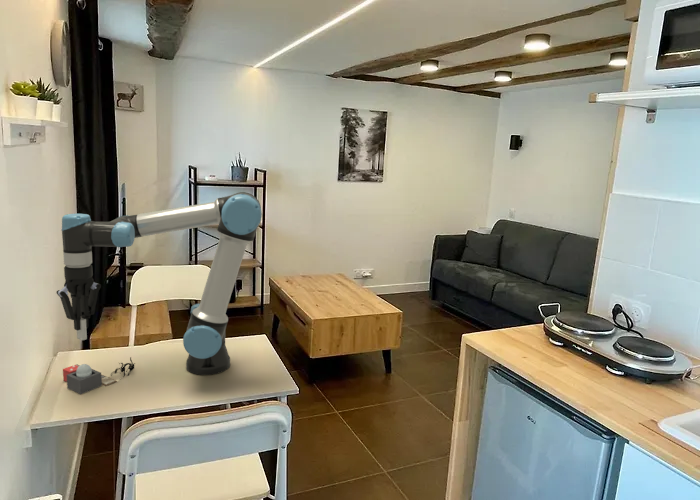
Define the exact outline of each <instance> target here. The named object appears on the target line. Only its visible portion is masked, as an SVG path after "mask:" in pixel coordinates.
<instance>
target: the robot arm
mask: <svg viewBox="0 0 700 500" xmlns="http://www.w3.org/2000/svg"><path fill="white" fill-rule="evenodd" d="M262 215H263V214H262V206H261V203H260V201H259V199H258V198H257V197H256V196H255V195H254V194H251V193H249V192H244V191H242V192H241V191H240V192H236V193H233V194H231V195H227V196H222V197H216V199H215V200H214V201H210V202H204V203H199V204H193V205H192V204H191V205H186V206H181V207H174V208H169V209H163V210H156V211H149V212H145V213H144V212H143V213H137V214H131V215H127V214H124V215H120V216H119V217H116V218H115V219H113V220H111V221H110V220H109V221H94V220H92V219H91V215H89V214H87V213H69V214H65V215H63V216H62V217H61V236H62V237H61V238H62V239H61V240H62V249H63V250H62V251H63V265H64V267H63V271H64V273H63V275H64V280H65V282H64V285H63V287H62V288H61V289H59V290H56V293H55V294H57V296H58V297H59V298H60V301H61V304H62V307H63V310H64V313H65V317H66V318H67V320H71V321H73V328H74V331H75V330H76V339H77V340H80V341H85V340H88V335H87V334H88V333H87V329H88V328H89V320H90V319H91V318H92V317H91V316H94V315H95V312H96V307H97V306H96V305H97V302H98V296H99V291H100V289H101V288H102V284H101V283H97V282H95V281H94V278H93V275H94V273H93V272H94V271H93V265H92V264H93V252H92V247H110V248H111V247H113V248H123V247H124V248H125V247H132V246H133V244H134V242H135V239H138V238H143V237H146V236H147V237H148V236H153V235H159V234H166V233H171V232H172V233H173V232H177V231H184V230H189V229H195V228H197V229H198V228H201V227H207V226H214V225H218V227H217V229H216V231H217V234H218V235H219V240H218V243H217V247H216V250H215V253H214V256H213V259H212V263H211V266H210V269H209V273H208V277H207V279H206V282H205V285H204V289H203V292H202V296H201V299H200V303H195V304H193V305H192V306H191V308H190V312H189V313H190V317H189V318H190V319H189V321H188V323H187V327H186V332H185V333H184V334H183V337H182V340H183V342H182V343H183V348H184V350H185V352H187V354H188V356H187V358H186V363H185V365H186V367H185V368H186V370H187V371H188V372H189V373H191V374H195V375H200V376H201V375H203V376H206V375H207V376H208V375H209V376H210V375H215V374H216V375H217V374H220V373H222V372H224V371H227V370H228V369H229V368H230V367H231V357H230V355H229V352H228V349H227V347H226V329H227V325H228V322H229V317H228V315H227V314H226V313H227V310H228V307H229V306H228V305H229V303H230V301H231V296H232V293H233V290H234V287H235V284H236V281H237V278H238V275H239V274H238V273H239V271H240V268H241V264H242V261H243V258H244V255H245V252H246V248H247V246H248V245H249V244H252V242H254V239H255V236H256V234H257V233H256V232H257V231H258V230H257V229H258V227H259V225H260V223H261V220H262ZM69 294H70V297H69ZM70 299H71V300H70Z"/></svg>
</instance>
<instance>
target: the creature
mask: <svg viewBox="0 0 700 500" xmlns="http://www.w3.org/2000/svg"><path fill="white" fill-rule="evenodd" d="M129 360H130V362H129V363H128V362H126V363H123V362H118V364H119V365H120V366H121V367H116V368H115V370H114V372H111V373H110V376H111V377H112V376H113V374H118V371H119V374H121V373H123V374H124V375H121V378H119V381H120V380H122V378H125V377H128V376H130V373H131V372H132V371H133V370H134V369H135V364H136V363H135V362H134V363H133V360H132V356H130V357H129ZM127 365H129V366H128V368H127V369H126V367H127ZM128 370H129V371H128ZM126 373H128V374H127V375H126Z"/></svg>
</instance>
